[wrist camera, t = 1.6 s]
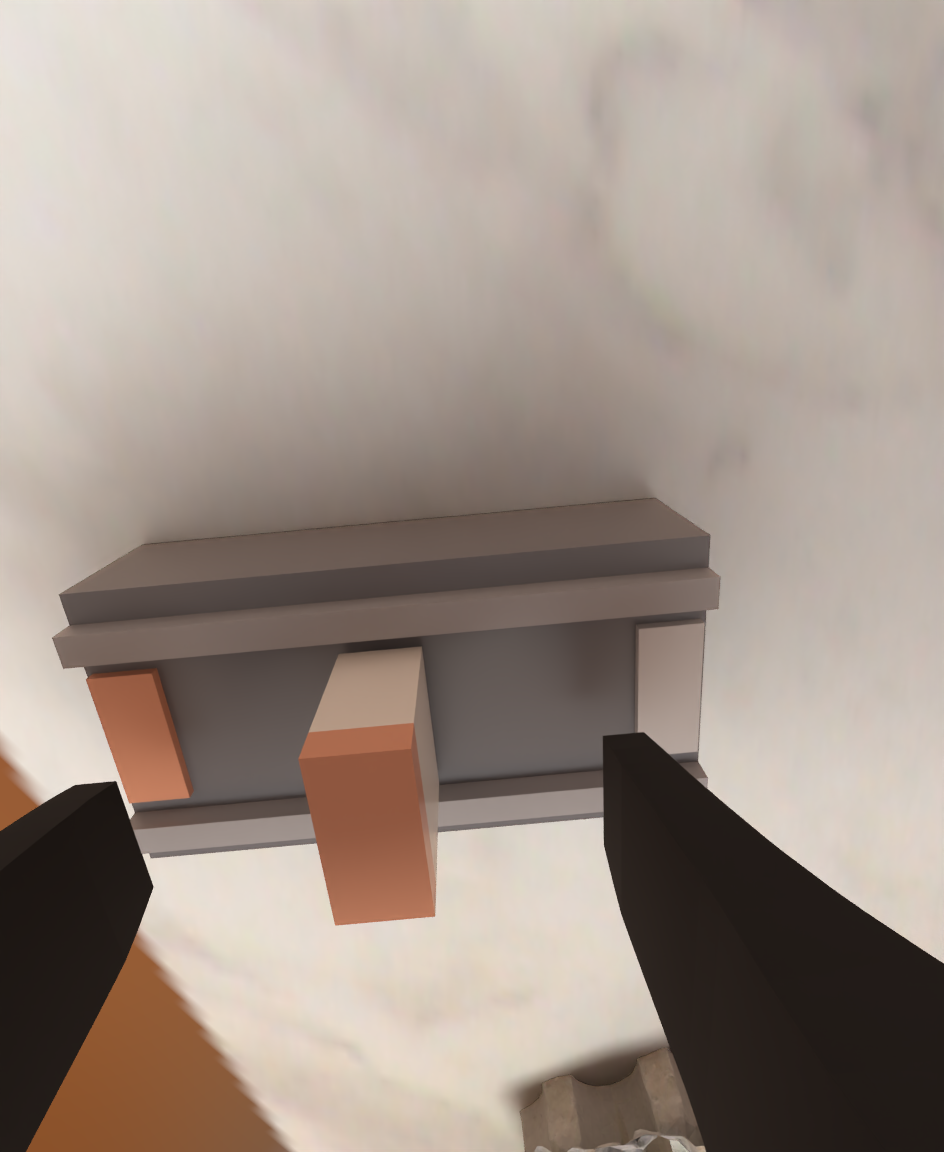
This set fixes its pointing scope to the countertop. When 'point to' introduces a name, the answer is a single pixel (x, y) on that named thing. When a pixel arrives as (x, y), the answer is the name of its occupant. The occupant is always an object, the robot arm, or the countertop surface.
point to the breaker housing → (391, 621)
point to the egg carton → (614, 1112)
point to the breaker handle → (375, 787)
